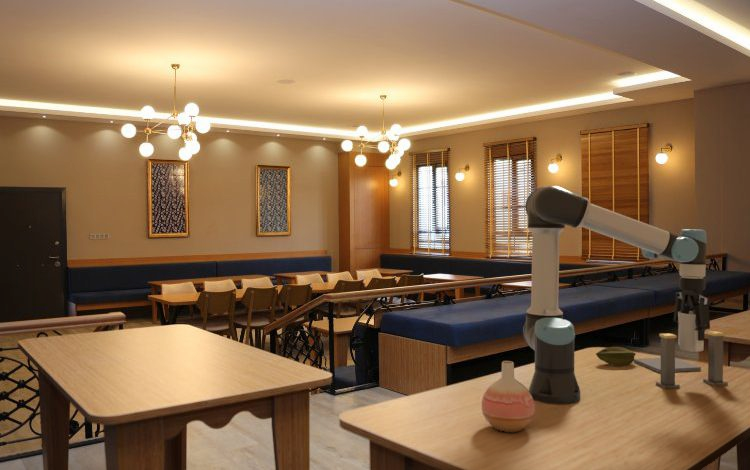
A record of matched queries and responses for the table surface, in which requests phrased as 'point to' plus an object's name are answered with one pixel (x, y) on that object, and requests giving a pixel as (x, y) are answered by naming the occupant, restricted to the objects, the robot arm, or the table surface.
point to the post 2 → (715, 359)
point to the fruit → (616, 356)
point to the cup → (687, 331)
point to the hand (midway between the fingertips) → (690, 347)
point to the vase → (508, 402)
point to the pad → (656, 365)
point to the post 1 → (668, 362)
